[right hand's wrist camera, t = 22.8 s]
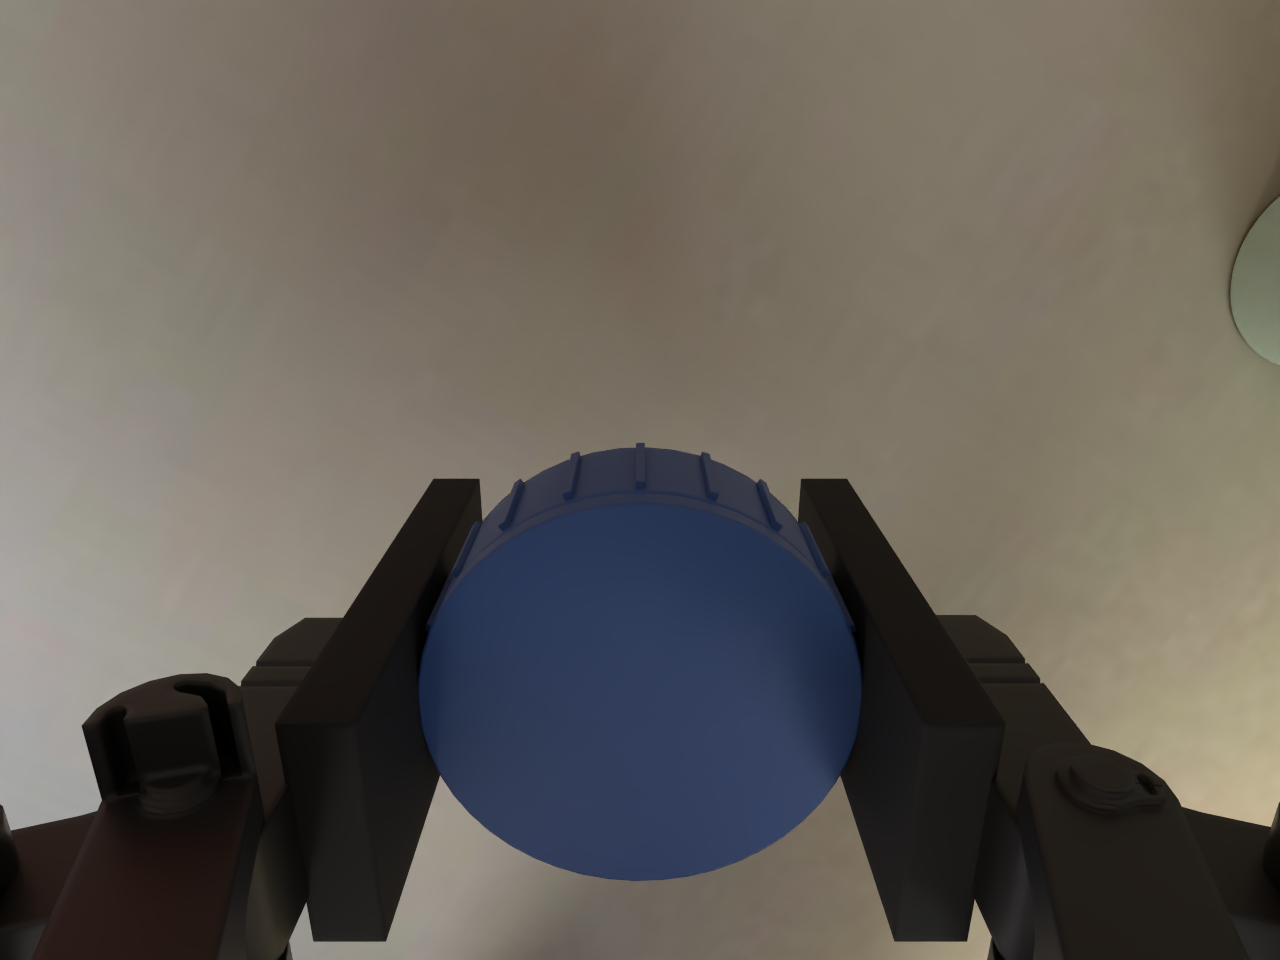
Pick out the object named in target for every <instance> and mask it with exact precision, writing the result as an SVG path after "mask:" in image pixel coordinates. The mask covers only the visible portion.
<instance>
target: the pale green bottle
mask: <svg viewBox="0 0 1280 960" xmlns="http://www.w3.org/2000/svg"><path fill="white" fill-rule="evenodd" d="M1230 299H1231V309H1232V313H1233V317H1234V320H1235V323H1236V325H1237V328H1238V330H1239V332H1240V333H1241V335H1242V337H1243V338H1244V340H1245V341H1246V342H1247V344H1248V345H1249V346H1250V347H1251V348H1252V349H1253V350H1254V351H1255V352H1256V353H1258V354H1259V355H1260V356H1261V357H1263V358H1265V359H1266V360H1268V361H1270V362H1272V363H1274V364H1277V365H1280V196H1279V197H1278V198H1277V199H1276V200H1275V201H1274V202H1273V203H1272V204H1271V205H1270V206H1269V207H1268V208H1267V209H1266V210H1265V211H1264V212H1263V214H1262V215H1261V216H1260V217H1259V218H1258V220H1257V221H1256V222H1255V224H1254V225H1253V227H1252V228H1251V229H1250V231H1249V233H1248V235H1247V236H1246V238H1245V240H1244V242H1243V244H1242V246H1241V248H1240V251H1239V253H1238V255H1237V258H1236V262H1235V265H1234V268H1233V273H1232V279H1231V290H1230Z"/></svg>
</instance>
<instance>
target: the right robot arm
mask: <svg viewBox="0 0 1280 960" xmlns="http://www.w3.org/2000/svg"><path fill="white" fill-rule="evenodd" d="M476 521H478V522H479V523H482V509H481V495H480V480H479V479H433V481H432V482H431V484H430V485H429V487H428V488H427V490H426V491H425V493H424V494H423V496H422V498H421V499H420V501H419V502H418V504H417V505H416V507H415V508H414V510H413V511H412V513H411V514H410V516H409V517H408V519H407V521H406V522H405V524H404V525H403V527H402V528H401V530H400V531H399V533H398V534H397V536H396V537H395V539H394V541H393V542H392V544H391V545H390V547H389V548H388V550H387V551H386V553H385V554H384V556H383V557H382V559H381V561H380V562H379V564H378V565H377V567H376V568H375V570H374V571H373V573H372V574H371V576H370V577H369V579H368V581H367V582H366V584H365V585H364V587H363V588H362V590H361V591H360V593H359V594H358V596H357V597H356V599H355V600H354V602H353V604H352V605H351V607H350V608H349V610H348V611H347V613H346V614H345V616H344V617H343V618H304V619H303V620H301V621H300V622H298V623H297V624H295V625H294V626H292V627H291V628H289V629H287V630H286V631H284V632H283V633H281V634H280V635H278V636H277V637H275V638H274V639H273V641H272V642H271V643H270V644H269V646H268V647H267V648H266V650H265V651H264V652H263V654H262V655H261V656H260V657H259V659H258V660H257V661H256V666H253V667H252V668H251V669H250V670H249V672H248V673H247V674H246V676H245V677H244V678H243V680H242V681H241V686H237V685H236V684H235V683H234V682H232V681H231V680H230V679H229V678H226V677H221V676H217V675H212V674H208V673H201V674H179V675H175V676H170V677H166V678H161V679H157V680H152V681H149V682H146V683H144V684H141V685H139V686H136V687H134V688H132V689H129V690H127V691H124V692H122V693H120V694H118V695H117V696H115V697H114V698H112V699H111V700H109V701H108V702H106V703H104V704H103V705H101V706H100V707H98V708H97V709H96V710H95V711H94V712H93V713H92V715H91V716H90V717H89V718H88V719H87V720H86V721H85V723H84V724H83V725H82V729H83V732H84V736H85V740H86V743H87V747H88V751H89V754H90V758H91V762H92V765H93V769H94V773H95V776H96V780H97V783H98V787H99V791H100V794H101V798H102V802H101V804H100V806H99V809H98V811H96V812H92V813H89V814H85V815H81V816H77V817H73V818H68V819H63V820H59V821H54V822H49V823H45V824H40V825H35V826H31V827H26V828H21V829H17V830H12V831H11V830H10V827H9V824H8V821H7V818H6V815H5V812H4V809H3V806H2V805H0V960H293V959H292V953H291V948H290V943H289V939H290V937H291V935H292V933H293V930H294V928H295V926H296V924H297V921H298V919H299V917H300V915H301V913H302V910H303V908H304V906H305V904H306V902H307V908H308V913H309V919H310V924H311V930H312V936H313V941H386V940H387V937H388V933H389V930H390V927H391V924H392V921H393V918H394V915H395V912H396V909H397V906H398V903H399V900H400V897H401V894H402V891H403V887H404V884H405V881H406V878H407V875H408V872H409V869H410V866H411V863H412V860H413V857H414V854H415V851H416V848H417V844H418V841H419V838H420V835H421V832H422V829H423V826H424V823H425V820H426V817H427V814H428V811H429V808H430V805H431V801H432V798H433V795H434V792H435V789H436V786H437V783H438V780H439V777H440V774H439V772H438V770H437V767H436V765H435V763H434V761H433V759H432V757H431V755H430V753H429V750H428V747H427V744H426V740H425V737H424V734H423V730H422V721H421V712H420V703H419V692H418V673H419V667H420V661H421V655H422V651H423V648H424V645H425V642H426V639H427V635H428V632H426V631H425V626H426V623H427V621H428V619H429V617H430V615H431V612H432V610H433V608H434V606H435V604H436V602H437V599H438V597H439V595H440V593H441V591H442V589H443V586H444V584H445V582H446V580H447V578H448V576H449V573H450V572H451V571H452V569H453V567H454V565H455V563H456V560H457V558H458V556H459V554H460V552H461V549H462V547H463V545H464V543H465V541H466V539H467V536H468V534H469V532H470V530H471V528H472V526H473V524H474V523H475V522H476ZM803 521H805V522H806V524H807V525H808V526H809V529H810V531H811V533H812V535H813V537H814V539H815V542H816V544H817V546H818V548H819V550H820V552H821V554H822V557H823V559H824V561H825V563H826V565H827V567H828V570H829V572H830V573H831V575H832V577H833V579H834V581H835V583H836V585H837V588H838V590H839V592H840V594H841V596H842V598H843V600H844V603H845V605H846V607H847V609H848V611H849V613H850V615H851V618H852V620H853V622H854V624H855V627H856V632H852V633H853V636H854V638H855V642H856V645H857V649H858V653H859V657H860V661H861V668H862V679H863V688H862V698H861V708H860V717H859V725H858V733H857V737H856V740H855V743H854V746H853V748H852V751H851V753H850V756H849V759H848V761H847V763H846V765H845V767H844V769H843V770H842V772H841V774H840V775H841V778H842V781H843V785H844V788H845V791H846V794H847V797H848V800H849V803H850V806H851V809H852V812H853V815H854V818H855V821H856V824H857V828H858V831H859V834H860V837H861V840H862V843H863V846H864V849H865V852H866V855H867V858H868V861H869V864H870V867H871V870H872V874H873V877H874V880H875V883H876V886H877V889H878V892H879V895H880V898H881V901H882V904H883V907H884V910H885V913H886V917H887V920H888V923H889V926H890V929H891V932H892V935H893V938H894V941H967V939H968V933H969V927H970V922H971V916H972V911H973V905H974V900H976V903H977V905H978V907H979V909H980V911H981V914H982V916H983V918H984V920H985V922H986V925H987V927H988V929H989V931H990V933H991V936H992V938H991V943H990V948H989V953H988V958H987V960H1280V802H1279V805H1278V808H1277V811H1276V814H1275V817H1274V820H1273V823H1272V826H1271V827H1267V826H1263V825H1258V824H1253V823H1249V822H1244V821H1239V820H1235V819H1230V818H1225V817H1221V816H1216V815H1211V814H1206V813H1202V812H1198V811H1195V810H1191V809H1187V808H1184V807H1181V805H1180V803H1179V800H1178V799H1177V797H1176V796H1175V795H1174V793H1173V792H1172V790H1171V789H1170V788H1169V786H1168V785H1167V784H1166V782H1165V781H1164V780H1163V779H1161V778H1160V777H1159V776H1157V775H1156V774H1155V773H1153V772H1152V771H1151V770H1149V769H1148V768H1147V767H1145V766H1144V765H1143V764H1141V763H1139V762H1137V761H1135V760H1133V759H1131V758H1129V757H1126V756H1124V755H1122V754H1120V753H1118V752H1116V751H1113V750H1110V749H1106V748H1102V747H1098V746H1094V745H1091V744H1090V742H1089V741H1088V740H1087V739H1086V737H1085V736H1084V735H1083V733H1082V732H1081V731H1080V729H1079V728H1078V727H1077V726H1076V724H1075V723H1074V722H1073V720H1072V719H1071V718H1070V717H1069V715H1068V714H1067V713H1066V711H1065V710H1064V709H1063V707H1062V706H1061V705H1060V704H1059V702H1058V701H1057V700H1056V698H1055V697H1054V696H1053V695H1052V693H1051V692H1050V691H1049V689H1048V688H1047V687H1046V685H1045V684H1044V683H1040V678H1039V676H1038V675H1037V674H1036V673H1035V671H1034V670H1033V669H1032V667H1031V666H1030V665H1029V664H1028V663H1025V658H1024V657H1023V656H1022V654H1021V653H1020V652H1019V651H1018V649H1017V648H1016V647H1015V645H1014V644H1013V643H1012V642H1011V640H1010V639H1009V638H1008V636H1007V635H1005V634H1004V633H1002V632H1001V631H999V630H998V629H996V628H995V627H993V626H992V625H990V624H989V623H987V622H985V621H984V620H982V619H981V618H979V617H978V616H976V615H935V613H934V612H933V610H932V609H931V607H930V606H929V604H928V603H927V601H926V600H925V598H924V597H923V595H922V593H921V592H920V590H919V589H918V587H917V586H916V584H915V583H914V581H913V580H912V578H911V577H910V575H909V574H908V572H907V570H906V569H905V567H904V566H903V564H902V563H901V561H900V560H899V558H898V557H897V555H896V554H895V552H894V550H893V549H892V547H891V546H890V544H889V543H888V541H887V540H886V538H885V537H884V535H883V534H882V532H881V530H880V529H879V527H878V526H877V524H876V523H875V521H874V520H873V518H872V517H871V515H870V514H869V512H868V511H867V509H866V507H865V506H864V504H863V503H862V501H861V500H860V498H859V497H858V495H857V494H856V492H855V491H854V489H853V487H852V486H851V484H850V483H849V481H848V480H847V479H801V488H800V502H799V516H798V522H799V524H800V523H802V522H803Z"/></svg>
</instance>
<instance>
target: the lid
mask: <svg viewBox="0 0 1280 960" xmlns="http://www.w3.org/2000/svg"><path fill="white" fill-rule="evenodd" d="M425 631H426V632H428V635H427V639H426V642H425V645H424V648H423V651H422V655H421V661H420V667H419V673H418V692H419V703H420V712H421V721H422V730H423V734H424V737H425V740H426V744H427V747H428V750H429V753H430V755H431V757H432V759H433V761H434V763H435V765H436V767H437V770H438V772H439V774H440V775H441V777H442V778H443V780H444V781H445V783H446V784H447V786H448V787H449V789H450V790H451V792H452V793H453V795H454V796H455V797H456V798H457V800H458V801H459V802H460V803H461V804H462V805H463V806H464V808H465V809H466V810H467V811H468V812H469V813H470V814H471V815H472V816H473V817H474V818H475V819H476V820H478V821H479V822H480V823H481V824H482V825H483V826H484V827H485V828H487V829H488V830H489V831H490V832H492V833H493V834H495V835H496V836H497V837H499V838H500V839H502V840H503V841H505V842H506V843H508V844H509V845H511V846H512V847H514V848H516V849H518V850H520V851H522V852H524V853H525V854H527V855H529V856H531V857H533V858H535V859H538V860H540V861H543V862H545V863H548V864H550V865H553V866H555V867H558V868H562V869H565V870H569V871H572V872H576V873H579V874H583V875H589V876H595V877H600V878H606V879H617V880H631V881H644V880H665V879H672V878H680V877H688V876H692V875H696V874H700V873H704V872H709V871H713V870H716V869H719V868H722V867H724V866H727V865H730V864H733V863H736V862H738V861H741V860H743V859H745V858H747V857H749V856H751V855H753V854H755V853H757V852H759V851H761V850H763V849H765V848H766V847H768V846H769V845H771V844H773V843H774V842H776V841H777V840H779V839H781V838H782V837H784V836H785V835H786V834H787V833H789V832H790V831H791V830H792V829H794V828H795V827H796V826H797V825H799V824H800V823H801V822H802V821H804V819H805V818H806V817H807V816H808V815H809V814H810V813H811V812H812V811H813V810H814V809H815V808H816V807H817V806H818V805H819V804H820V803H821V802H822V800H823V799H824V798H825V796H826V795H827V794H828V792H829V791H830V790H831V788H832V787H833V786H834V784H835V783H836V781H837V779H838V778H839V776H840V774H841V772H842V770H843V769H844V767H845V765H846V763H847V761H848V759H849V756H850V753H851V751H852V748H853V746H854V743H855V740H856V737H857V733H858V725H859V717H860V708H861V698H862V688H863V679H862V668H861V661H860V657H859V653H858V649H857V645H856V642H855V638H854V636H853V633H852V632H856V627H855V624H854V622H853V620H852V618H851V615H850V613H849V611H848V609H847V607H846V605H845V603H844V600H843V598H842V596H841V594H840V592H839V590H838V588H837V585H836V583H835V581H834V579H833V577H832V575H831V573H830V572H829V570H828V567H827V565H826V563H825V561H824V559H823V557H822V554H821V552H820V550H819V548H818V546H817V544H816V542H815V539H814V537H813V535H812V533H811V531H810V529H809V526H808V525H807V524H806V522H805V521H803V522H802V523H800V524H799V522H798V521H797V520H796V519H795V518H794V516H793V515H792V514H791V513H790V512H789V510H788V509H787V508H786V507H785V506H784V505H783V504H782V503H781V502H780V501H779V500H777V499H776V498H775V497H774V496H773V495H772V494H771V493H770V491H769V489H768V486H767V484H766V483H765V482H764V481H763V480H761V479H760V480H759V481H758V482H757V483H756V482H755V481H753V480H752V479H750V478H749V477H747V476H746V475H744V474H742V473H740V472H738V471H736V470H734V469H732V468H730V467H728V466H726V465H724V464H721V463H719V462H716V461H713V460H711V458H710V454H708V453H704V452H702V453H701V456H699V455H694V454H690V453H685V452H680V451H676V450H669V449H658V448H646V447H645V444H644V443H636V448H619V449H612V450H606V451H600V452H594V453H590V454H587V455H583V456H580V453H579V452H576V453H573V454H571V458H570V460H567V461H564V462H562V463H560V464H558V465H555V466H553V467H551V468H548V469H546V470H544V471H542V472H541V473H539V474H537V475H536V476H534V477H532V478H531V479H529V480H527V481H526V482H523V481H522V480H521V479H519V480H518V481H517V482H515V483H514V486H513V488H512V491H511V493H510V494H509V495H507V496H506V497H505V498H504V499H502V500H501V502H500V503H499V504H498V505H497V506H496V507H495V508H494V509H493V510H492V511H491V512H490V513H489V514H488V515H487V517H486V518H485V519H484V521H483V522H482V523H479V522H478V521H476V522H475V523H474V524H473V526H472V528H471V530H470V532H469V534H468V536H467V539H466V541H465V543H464V545H463V547H462V549H461V552H460V554H459V556H458V558H457V560H456V563H455V565H454V567H453V569H452V571H451V572H450V573H449V576H448V578H447V580H446V582H445V584H444V586H443V589H442V591H441V593H440V595H439V597H438V599H437V602H436V604H435V606H434V608H433V610H432V612H431V615H430V617H429V619H428V621H427V623H426V626H425Z"/></svg>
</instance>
